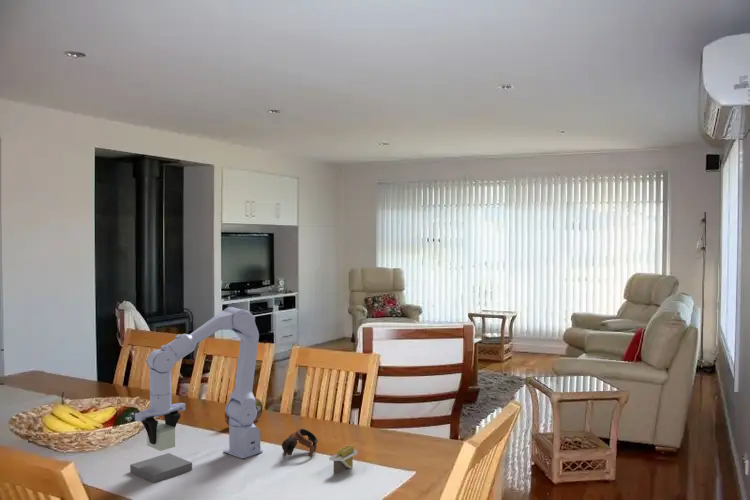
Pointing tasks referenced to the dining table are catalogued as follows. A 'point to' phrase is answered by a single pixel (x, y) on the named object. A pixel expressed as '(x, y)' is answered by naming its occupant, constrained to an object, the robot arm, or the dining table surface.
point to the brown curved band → (292, 441)
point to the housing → (163, 437)
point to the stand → (160, 467)
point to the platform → (343, 458)
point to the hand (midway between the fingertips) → (161, 441)
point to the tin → (258, 407)
